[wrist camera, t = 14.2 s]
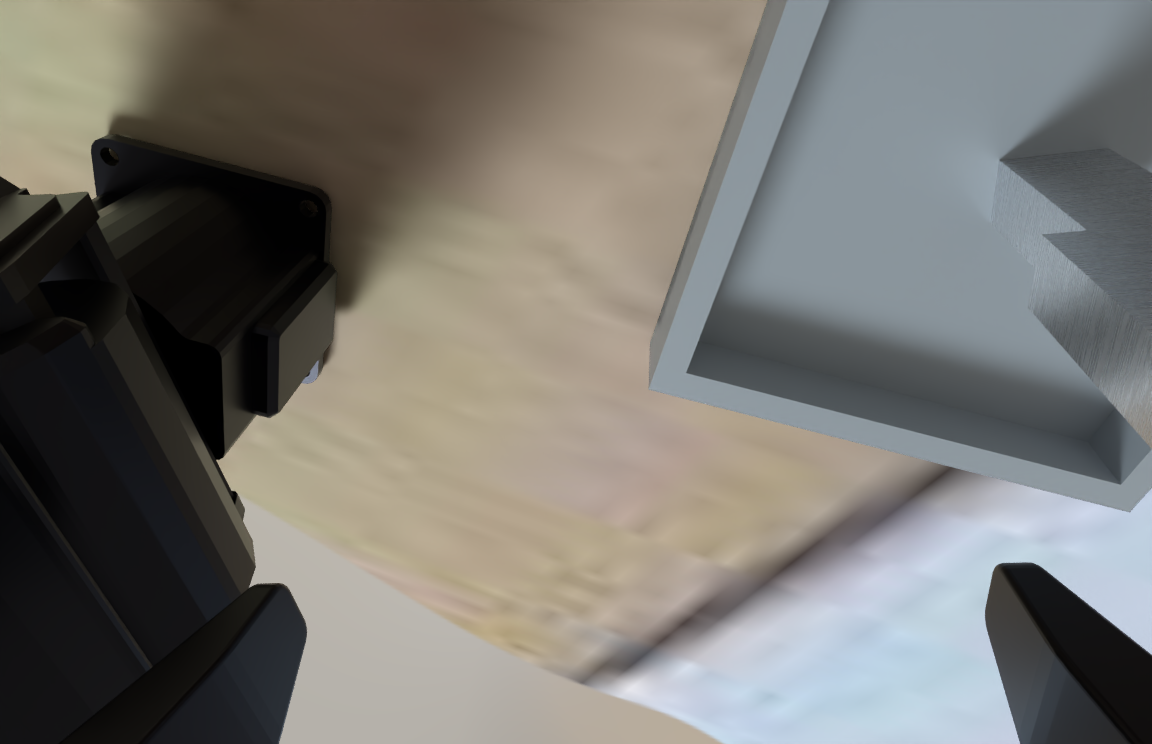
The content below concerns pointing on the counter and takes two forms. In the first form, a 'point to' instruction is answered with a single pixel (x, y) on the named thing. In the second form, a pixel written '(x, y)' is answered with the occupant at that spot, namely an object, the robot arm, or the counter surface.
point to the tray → (907, 234)
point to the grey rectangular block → (1088, 264)
